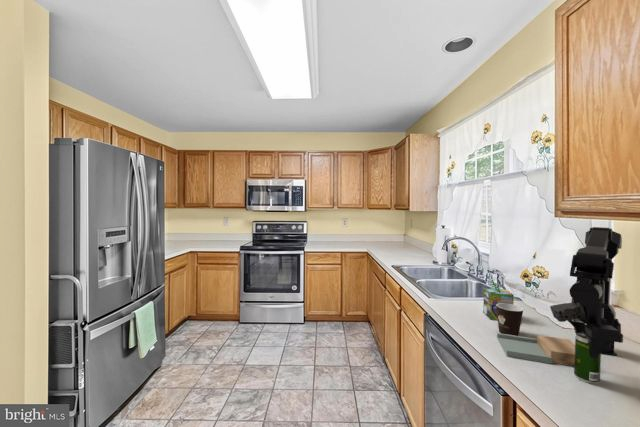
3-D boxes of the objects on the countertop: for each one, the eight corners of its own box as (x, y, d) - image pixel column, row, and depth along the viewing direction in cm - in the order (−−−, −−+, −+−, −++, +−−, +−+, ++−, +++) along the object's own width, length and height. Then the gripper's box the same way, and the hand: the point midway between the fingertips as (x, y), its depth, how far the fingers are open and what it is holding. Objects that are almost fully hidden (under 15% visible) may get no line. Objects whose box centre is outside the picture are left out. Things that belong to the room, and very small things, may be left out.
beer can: (605, 384, 79) (607, 341, 78) (586, 385, 78) (588, 341, 78) (586, 373, 84) (587, 332, 84) (568, 373, 84) (570, 332, 84)
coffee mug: (526, 339, 106) (527, 312, 105) (500, 336, 107) (501, 310, 107) (512, 326, 117) (513, 301, 117) (489, 324, 119) (489, 300, 118)
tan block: (568, 349, 98) (569, 339, 98) (587, 368, 87) (587, 356, 87) (536, 344, 101) (537, 335, 101) (550, 362, 90) (551, 350, 90)
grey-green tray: (535, 343, 102) (536, 338, 102) (551, 363, 89) (552, 357, 89) (496, 337, 106) (496, 332, 106) (506, 356, 93) (506, 350, 93)
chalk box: (513, 322, 122) (514, 287, 121) (489, 319, 124) (490, 285, 123) (504, 314, 131) (505, 281, 130) (482, 312, 133) (483, 280, 132)
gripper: (542, 285, 92) (540, 334, 93) (569, 303, 75) (567, 363, 75) (586, 289, 88) (584, 340, 89) (625, 309, 71) (623, 372, 71)
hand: (587, 352), depth 81 cm, fingers open, 6 cm apart
